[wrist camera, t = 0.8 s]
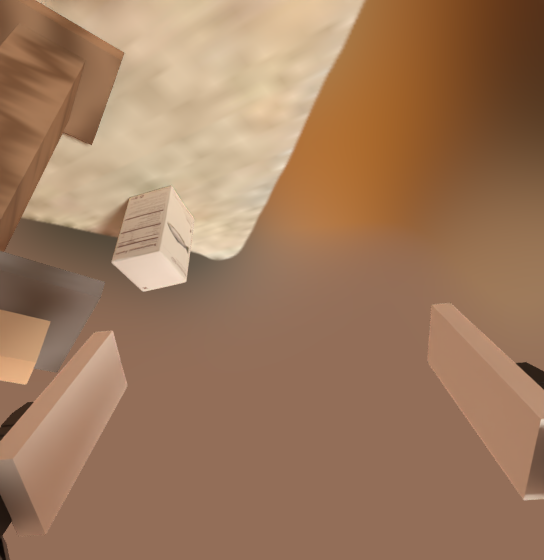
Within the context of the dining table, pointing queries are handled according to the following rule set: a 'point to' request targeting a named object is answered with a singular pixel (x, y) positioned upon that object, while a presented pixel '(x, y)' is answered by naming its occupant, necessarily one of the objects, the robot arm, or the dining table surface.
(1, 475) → the robot arm
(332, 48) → the dining table surface
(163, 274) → the supplement box
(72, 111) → the shelf stand
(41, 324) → the tan rectangular bar
